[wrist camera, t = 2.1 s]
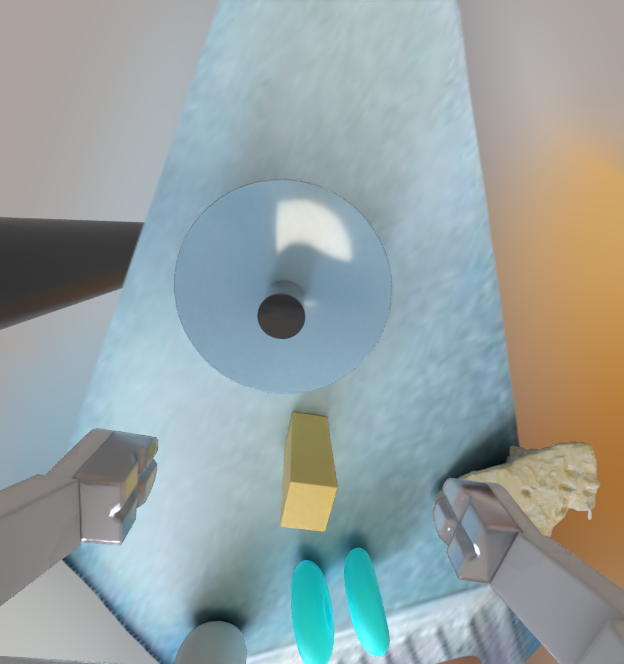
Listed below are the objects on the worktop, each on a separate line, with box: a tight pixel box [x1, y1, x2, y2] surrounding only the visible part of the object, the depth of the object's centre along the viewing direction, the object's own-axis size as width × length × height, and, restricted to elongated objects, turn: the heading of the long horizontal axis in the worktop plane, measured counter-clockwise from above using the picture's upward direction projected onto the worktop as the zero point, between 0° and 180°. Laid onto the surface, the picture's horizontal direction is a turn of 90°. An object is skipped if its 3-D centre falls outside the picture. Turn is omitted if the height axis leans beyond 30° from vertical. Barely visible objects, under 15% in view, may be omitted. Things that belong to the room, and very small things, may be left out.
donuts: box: [291, 548, 390, 664], centre depth 37 cm, size 10×10×10 cm
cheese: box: [434, 442, 600, 537], centre depth 35 cm, size 15×7×15 cm
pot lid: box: [174, 179, 392, 394], centre depth 19 cm, size 15×15×6 cm
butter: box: [280, 412, 338, 531], centre depth 30 cm, size 4×5×10 cm
